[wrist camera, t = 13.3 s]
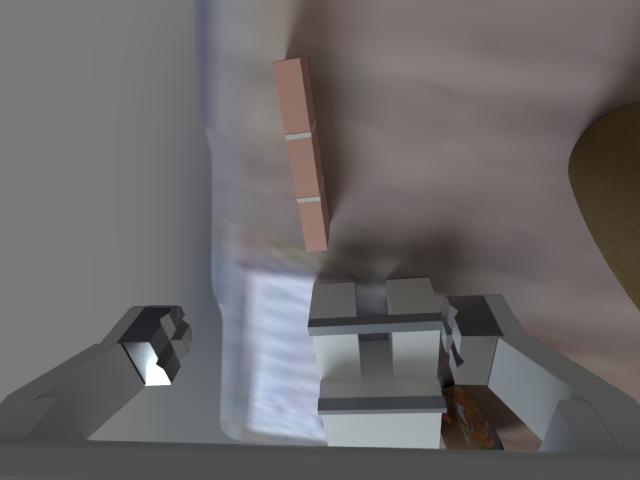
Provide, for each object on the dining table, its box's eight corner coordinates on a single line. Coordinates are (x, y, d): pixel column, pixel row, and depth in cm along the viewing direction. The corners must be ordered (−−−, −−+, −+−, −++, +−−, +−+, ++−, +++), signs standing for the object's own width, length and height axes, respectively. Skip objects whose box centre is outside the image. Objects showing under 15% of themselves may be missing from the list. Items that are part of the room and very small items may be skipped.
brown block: (307, 55, 23) (300, 58, 19) (330, 223, 30) (327, 250, 26) (284, 59, 23) (271, 62, 19) (311, 224, 30) (306, 252, 26)
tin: (501, 435, 43) (532, 513, 36) (477, 442, 44) (503, 519, 37) (448, 368, 38) (473, 445, 31) (422, 377, 39) (440, 454, 32)
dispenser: (428, 277, 32) (453, 344, 25) (424, 387, 40) (441, 462, 32) (313, 284, 33) (304, 350, 26) (331, 389, 41) (328, 462, 34)
